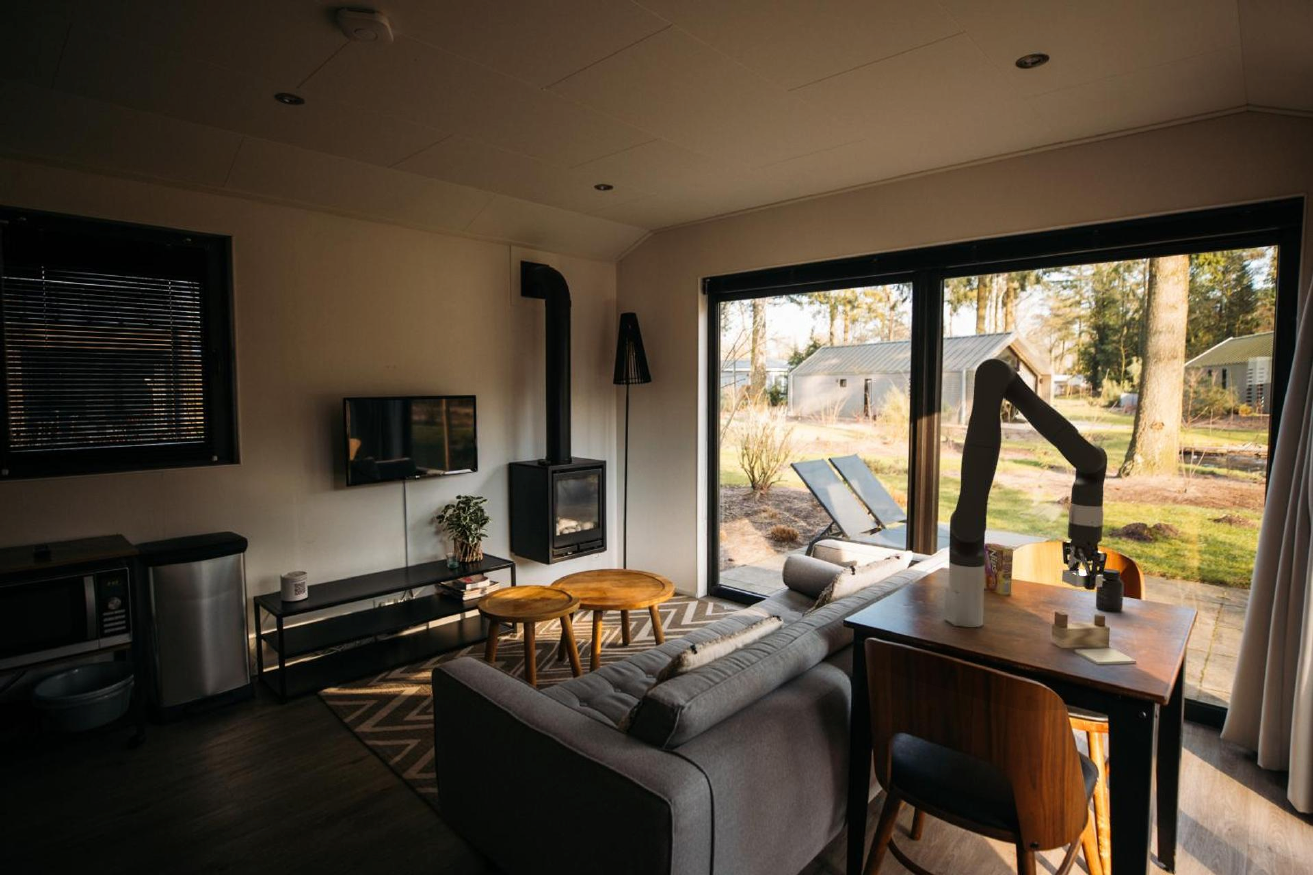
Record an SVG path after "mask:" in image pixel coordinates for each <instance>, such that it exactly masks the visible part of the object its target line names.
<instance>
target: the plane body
mask: <svg viewBox="0 0 1313 875" xmlns="http://www.w3.org/2000/svg"><path fill="white" fill-rule="evenodd" d="M1093 618H1094V619H1093V622H1070V623H1069V622H1068V620H1069V614H1067V613H1065V612H1063V611H1062V610H1059V611H1058V610H1057V611H1054V623H1052V624H1051V643H1052V644H1054V645H1055V646H1057V647H1059V648H1061V649H1067V648H1068V649H1071V648H1072V649H1073V648H1074V649H1075V648H1094V647H1095V648H1096V647H1097V648H1098V647H1099V648H1100V647H1102V648H1103V647H1110V632H1111V631H1110V630H1111V628H1110V626H1108V625H1106V615H1104V614H1099V613H1098V614H1097V613H1095V614H1094V617H1093Z"/></svg>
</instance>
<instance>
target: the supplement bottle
mask: <svg viewBox="0 0 1313 875" xmlns="http://www.w3.org/2000/svg"><path fill="white" fill-rule="evenodd" d="M1120 578H1121V571H1120V570H1117V569H1115V568H1104V573H1103V580H1102V587H1096V588H1095V589H1096V592H1095V607H1096V608H1097V609H1098V610H1101V611H1105V612H1109V613H1120V612H1122V611H1123V604H1124V582H1123V581H1122V580H1121V579H1120Z"/></svg>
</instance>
